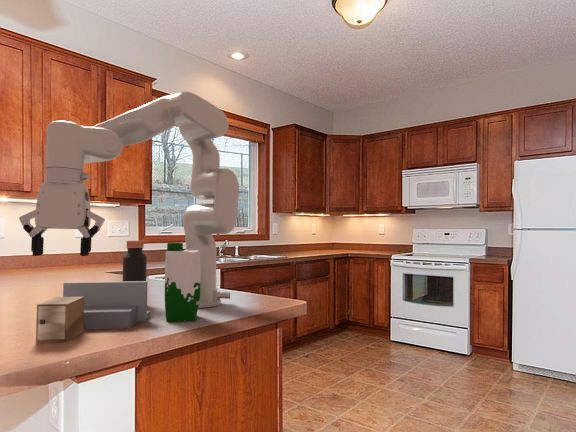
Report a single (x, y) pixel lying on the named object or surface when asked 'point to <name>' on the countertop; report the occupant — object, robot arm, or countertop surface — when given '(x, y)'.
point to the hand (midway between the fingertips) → (61, 255)
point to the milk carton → (181, 283)
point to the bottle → (134, 262)
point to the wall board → (110, 303)
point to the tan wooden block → (59, 319)
